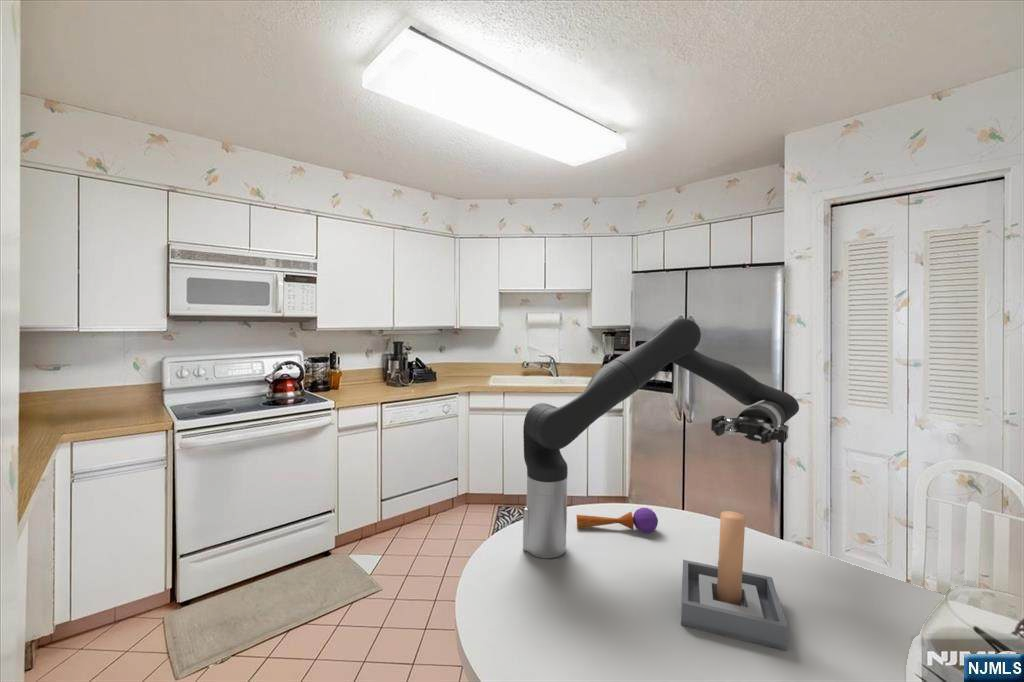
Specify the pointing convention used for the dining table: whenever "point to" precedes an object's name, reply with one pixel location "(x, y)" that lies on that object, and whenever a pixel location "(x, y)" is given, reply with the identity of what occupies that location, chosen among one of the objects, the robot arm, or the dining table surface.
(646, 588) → the dining table surface
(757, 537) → the dining table surface
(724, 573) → the peg
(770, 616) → the box
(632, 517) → the kendama
